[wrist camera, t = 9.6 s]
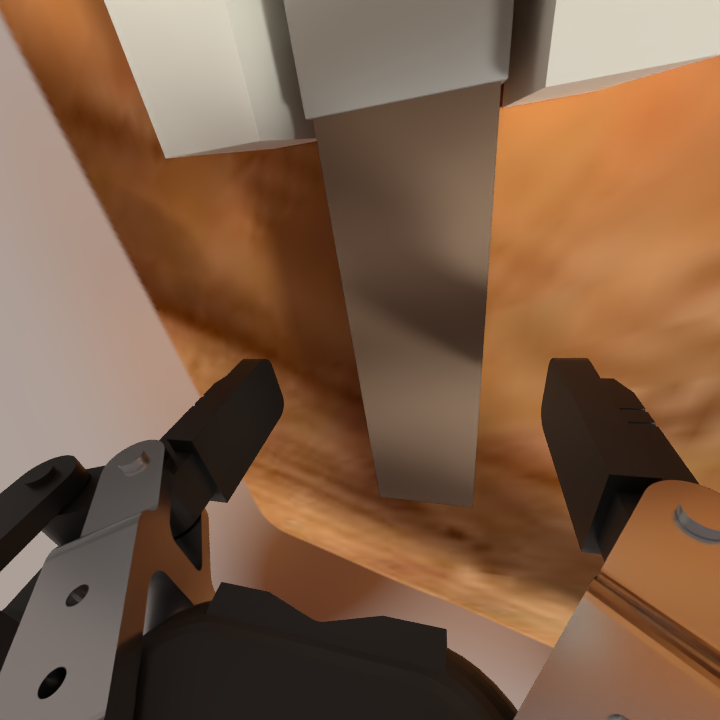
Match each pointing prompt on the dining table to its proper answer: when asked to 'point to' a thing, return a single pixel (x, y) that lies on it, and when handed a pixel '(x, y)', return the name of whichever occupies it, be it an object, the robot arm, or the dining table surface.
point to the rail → (410, 214)
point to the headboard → (280, 81)
